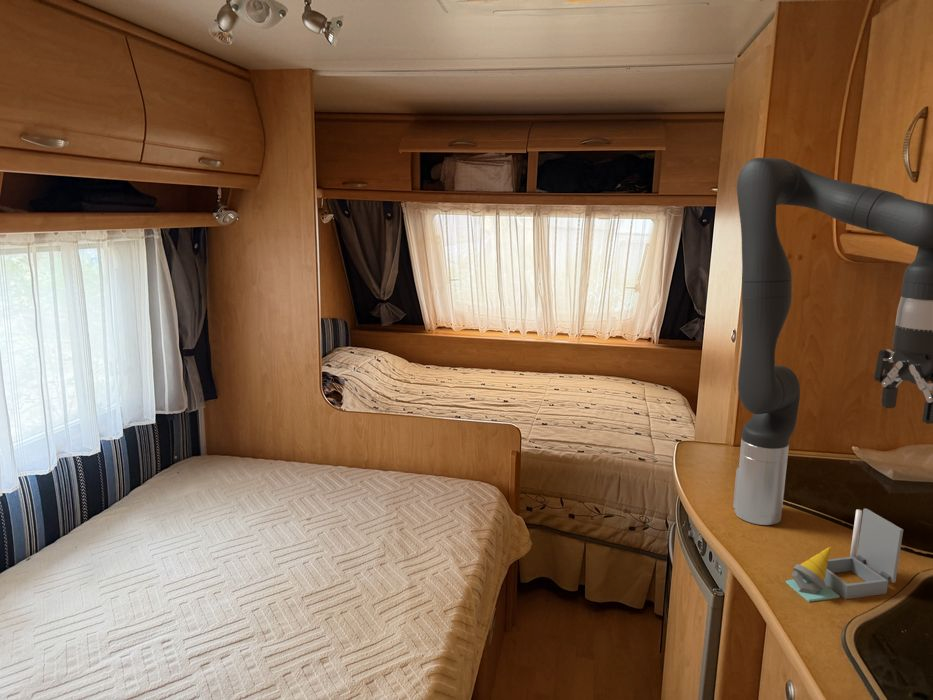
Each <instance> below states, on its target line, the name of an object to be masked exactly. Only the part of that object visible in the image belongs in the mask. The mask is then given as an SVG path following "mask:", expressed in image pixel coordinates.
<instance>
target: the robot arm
mask: <svg viewBox="0 0 933 700" xmlns="http://www.w3.org/2000/svg"><path fill="white" fill-rule="evenodd" d="M737 176H738V177H737V180H736V181H737V182H736V195H737V205H738V212H739V220H740V221H739V222H740V232H741V234H740V235H741V266H742V267H741V305H742V306H741V307H742V308H741V309H742V315H741V317H742V321H741V323H742V324H741V325H742V326H741V328H742V329H741V350H740V352H741V353H740V363H739V369H738V379H737V391H738V398H739V399H740V403H741V404H742V406H743V407H744V408H745V409H746V410H747V411H748V412H750V413H751V414H752V416H751V417H750V419H749V420H748V421H746V422H745V423H744V425H743V426H742V429H741V438H740V439H741V440H740V451H739V452H740V453H739V460H738V461H739V462H738V463H739V464H738V467H737V468H736V471H735V479H734V480H735V481H734V483H735V484H734V491H733V503H732V508H733V509H734V513H735V515H736V516H737V518H740V519H741V520H743V521H745V522H747V523H750V524H754V525H760V526H773V525H776V524H779V523H780V522H781V521H782V512H783V504H784V495H785V486H786V485H785V484H786V476H787V475H786V474H787V465H788V457H789V447H790V440H791V436H792V434H793V432H795V431H794V430H795V429H796V424H797V419H798V411H799V405H800V399H801V385H800V381H799V379H798V377H797V375H796V373H795V372H794V371H793V370H792V369H790V368H789V367H787V366H784V365H779V364H778V365H776V348H777V343H778V339H779V337H780V334H781V332H782V330H783V327H784V325H785V322H786V321H787V318H788V315H789V312H790V310H791V305H792V294H793V293H792V289H793V288H792V285H793V283H792V269H791V265H790V262H789V259H788V256H787V254H786V252H785V249H784V247H783V245H782V242H781V240H780V238H779V234H778V230H777V206H779V205H780V206H781V205H783V206H795V207H802V208H803V207H804V208H808V209H811V210H812V209H813V210H815V211H818V212H821V213H822V214H823V213H824V214H825V215H827V216H829V217H831V218H832V219H835V220H837V221H839V222H842V223H845V224H847V225H850V226H853V227H857V228H860V229H864V230H867V231H871V232H876V233H880V234H883V235H885V236H887V237H889V238H891V239H894V240H896V241H898V242H900V243H903V244H905V245H906V244H907V245H910V246H913V247H916V248H917V251H916V255H915V258H914V260H913V261H912V262H911V263H910V264H908V266H907V267H906V268H905V271H904V272H903V273H904V274H903V278H902V285H901V294H900V299H899V302H898V306H897V310H896V315H895V317H896V318H895V324H894V331H893V336H892V338H893V339H892V343H891V344H892V345H891V347H892V348H891V349H890V348H889V349H880V350H879V351H878V355H877V361H876V366H875V372H874V377H873V379H874V381H876V382H879V383H880V384H881V387H882V394H881V404H882V405H881V406H882V408H885V409H894V408H895V407H896V406H897V405H896V404H897V399H898V392H899V388H898V386H899V385H900V384H901V383H902V382H903V381H904V382H907V381H908V382H910V383H911V384H914V385H916V386H917V388H918V389H919V390H920V391H922V392H923V393H922V394H923V396H924V397H925V400H926V401H924V405H923V406H924V407H923V413H922V419H921V420H922V423H924V424H926V425H930V424H933V203H926V202H923V201H922V202H921V201H916V200H913V199H908V198H905V197H904V196H903V195H901V194H898V193H895V192H893V191H889V190H884V189H879V188H875V187H872V186H867V185H863V184H858V183H852V182H848V181H842V180H837V179H834V178H830V177H826V176H824V175H821V174H818V173H816V172H813V171H811V170H809V169H806V168H804V167H801V166H799V165H798V164H795V163H794V162H791V161H789V160H786V159H783V158H778V157H777V158H776V157H775V158H774V157H773V158H772V157H757V158H752V159H750V160H748V161H747V162H746V163H745V164H744V165H743V167H742V168H741V169H740V171H739V174H738V175H737ZM929 382H930V383H929Z"/></svg>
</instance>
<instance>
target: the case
mask: <svg viewBox="0 0 933 700" xmlns="http://www.w3.org/2000/svg"><path fill="white" fill-rule="evenodd" d="M903 534H904V529H903V528H901V527H899V526H897V525H896V524H894V523H893V522H891V521H889V520H888V519H885V518H883V517H882V516H881V515H879V514H878V513H877V514H876V513H875V512H873V511H872V510H870V509H868V508H866V507H865V508H863V510H862V509H856V510H855V516H854V524H853V530H852V539H851V545H850V555H849V556H846V557H845V556H844V557H837V558H829V560H828V564H827V569H826V574H825V579H824V582H825V584H826V585H827V586H828V587H829V588H830V589H832V590H833V591H834V592H836V593H837V594H838V595H839V596H841V597H842V598H843V599H845V600H848V599H849V600H850V599H857V598H864V597H871V596H878V595H885V594H886V595H887V592H888V585H889V582H890V583H893V584H895V583H896V582H897V581H896V580H897V576H898V575H897V573H898V567H899V563H900V562H899V560H900V555H901V550H902V540H903V537H904V536H903ZM849 571H850V572H852V573H853V574H855V575H856V576H858V577H859V578H860V579H862V580H863V581H858V582H851V583H847V582H846V581H845V580H843V578H841V577H839V576H838V575H837V574H835V573H842V572H849Z"/></svg>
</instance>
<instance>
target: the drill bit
mask: <svg viewBox="0 0 933 700" xmlns="http://www.w3.org/2000/svg"><path fill="white" fill-rule="evenodd" d="M831 550H832V546H829V547H827V548H825V549H824V550H822V551H820V552H819V553H817V554H815V555H814V556H812V557H810V558H808V559H807V560H805V561H803V562H801V563H800V564H799V563H796V564H795V565H794V567H793V568H792V570H793V572H792V573H791V577H792V580H793V579H794V581H795V582H796V584H797V585H798V587H799V588H800V590H799V591H798V592H804V593H810V594H816V593H817V592H818V591H819V589H823V588H824V586H825V585H826V584H825V582H824V579H825V574H826V569H827V564H828V560H829V559H830V554H831ZM803 579H804V580H805V581H806V582H808V583H809V584H808V583H805V582H804V580H803Z"/></svg>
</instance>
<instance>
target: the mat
mask: <svg viewBox="0 0 933 700" xmlns="http://www.w3.org/2000/svg"><path fill="white" fill-rule="evenodd" d="M803 580H804V579H803ZM804 582H805V583H808V582H806V581H805V580H804ZM785 584H787V585H788V586H789V587H790V588H792V589H793V590H794V591H795V592H796V593H797V594H798V595H800V596H801V597H802V598H803V599H804V600H805V601H807V602H808V603H810V602H817V601H825V600H832V599H839V598H840V595H839V594H838V593H837V592H835V591H834V590H833V589H832V588H830V587H829V586H828V585H825V586H824V588H823V589H819V591H818V592H817V593H816V594H810V593H804V592H798V591H799V590H800V588H799V587H798V585H797V584H796V582H795V581H794V579H793V578H792V579H787V580H785ZM808 584H809V583H808Z"/></svg>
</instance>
